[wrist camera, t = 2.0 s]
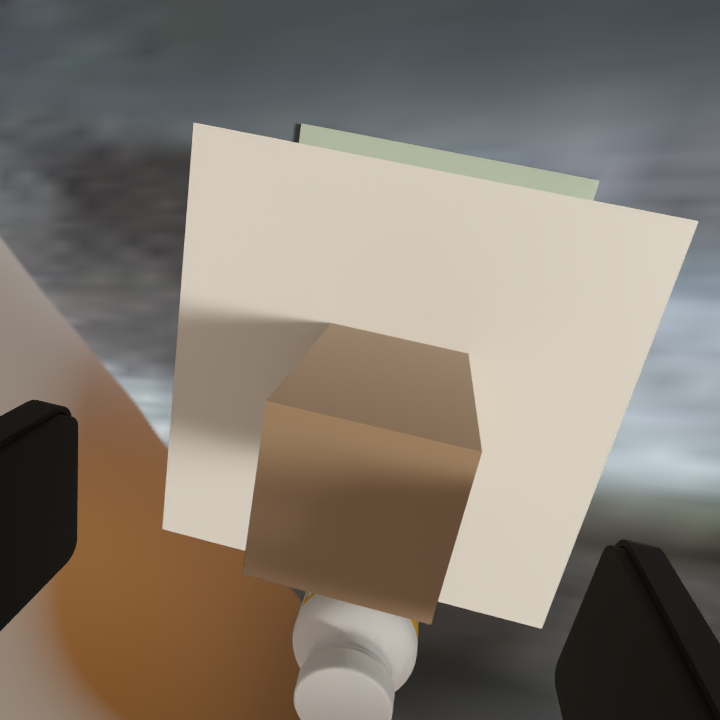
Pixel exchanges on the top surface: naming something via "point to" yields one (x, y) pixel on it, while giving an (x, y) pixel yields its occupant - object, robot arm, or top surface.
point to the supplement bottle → (350, 659)
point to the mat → (449, 162)
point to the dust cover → (402, 372)
